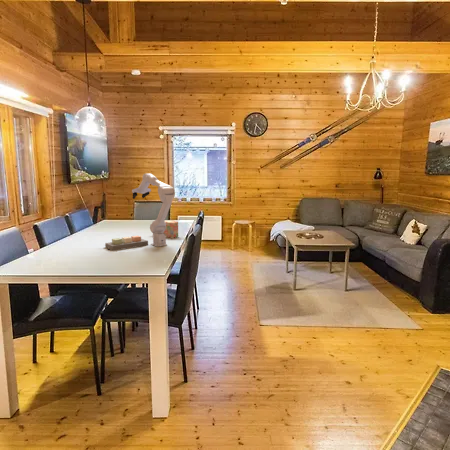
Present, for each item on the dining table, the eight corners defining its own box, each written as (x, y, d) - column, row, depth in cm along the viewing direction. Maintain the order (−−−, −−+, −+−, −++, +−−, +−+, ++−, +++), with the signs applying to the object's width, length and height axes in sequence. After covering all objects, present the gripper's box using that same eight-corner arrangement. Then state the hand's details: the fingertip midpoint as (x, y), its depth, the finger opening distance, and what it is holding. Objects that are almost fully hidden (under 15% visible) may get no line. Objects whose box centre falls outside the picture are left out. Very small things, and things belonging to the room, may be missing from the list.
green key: (122, 243, 239) (121, 239, 239) (115, 244, 236) (114, 240, 236) (119, 242, 243) (119, 238, 243) (112, 243, 240) (111, 238, 239)
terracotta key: (141, 241, 248) (141, 236, 247) (134, 242, 245) (134, 237, 244) (138, 239, 252) (137, 235, 251) (131, 240, 249) (131, 236, 248)
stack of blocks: (152, 235, 283) (152, 220, 281) (157, 234, 288) (157, 219, 286) (173, 238, 272) (173, 222, 270) (178, 236, 278) (178, 221, 276)
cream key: (131, 242, 244) (131, 237, 243) (125, 243, 240) (124, 238, 240) (128, 241, 247) (128, 236, 247) (122, 242, 244) (121, 237, 244)
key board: (148, 245, 248) (147, 240, 247) (112, 250, 232) (112, 246, 231) (140, 242, 257) (140, 238, 257) (105, 247, 241) (105, 243, 240)
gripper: (150, 181, 262) (144, 192, 271) (132, 182, 252) (127, 194, 261) (154, 188, 259) (148, 200, 268) (136, 189, 249) (130, 201, 258)
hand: (138, 197), depth 264 cm, fingers open, 7 cm apart
